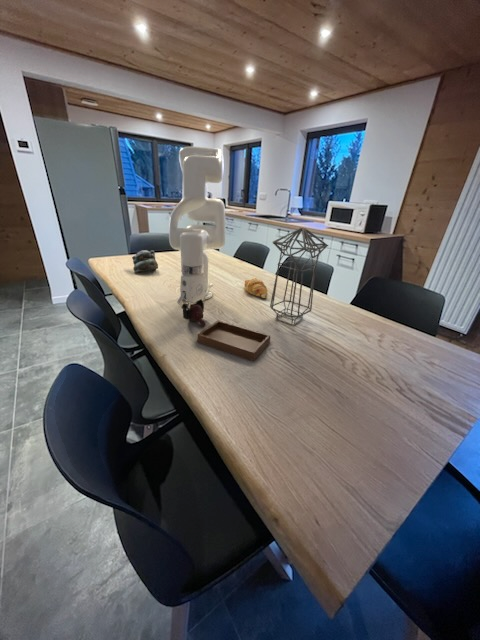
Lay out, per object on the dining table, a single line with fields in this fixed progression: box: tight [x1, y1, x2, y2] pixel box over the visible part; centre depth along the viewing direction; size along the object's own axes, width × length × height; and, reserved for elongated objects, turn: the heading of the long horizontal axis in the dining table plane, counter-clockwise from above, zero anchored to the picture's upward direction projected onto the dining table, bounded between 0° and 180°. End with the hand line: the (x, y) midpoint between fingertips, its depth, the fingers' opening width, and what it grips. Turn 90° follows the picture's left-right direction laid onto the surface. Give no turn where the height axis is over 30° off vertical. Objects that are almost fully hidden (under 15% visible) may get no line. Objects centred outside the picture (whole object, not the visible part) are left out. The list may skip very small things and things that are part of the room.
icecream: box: [185, 303, 206, 327], centre depth 100 cm, size 7×7×15 cm
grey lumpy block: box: [131, 248, 159, 274], centre depth 155 cm, size 15×12×14 cm
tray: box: [196, 319, 271, 362], centre depth 87 cm, size 13×21×3 cm, turn 62°
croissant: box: [244, 278, 268, 299], centre depth 131 cm, size 21×10×8 cm, turn 26°
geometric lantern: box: [269, 227, 329, 326], centre depth 98 cm, size 16×16×35 cm
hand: (193, 314), depth 100 cm, fingers closed on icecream, 7 cm apart
